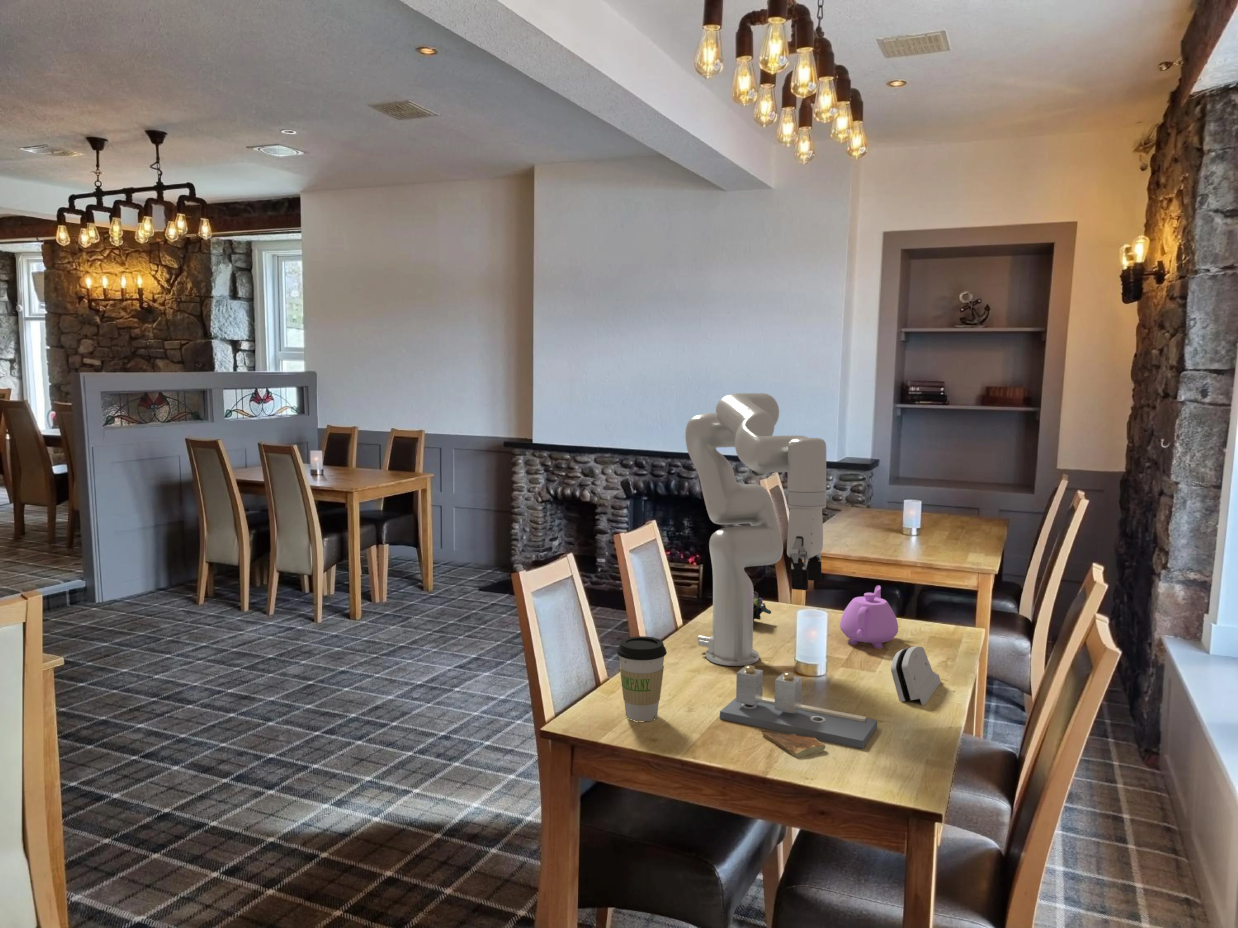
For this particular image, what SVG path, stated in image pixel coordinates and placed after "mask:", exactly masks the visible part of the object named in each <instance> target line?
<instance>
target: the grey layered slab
mask: <svg viewBox="0 0 1238 928" xmlns="http://www.w3.org/2000/svg"><path fill="white" fill-rule="evenodd" d="M890 672H891V676H892V679H893V682H894V686H895V689H896V693H897V697H898V701H900V702H901V703H902V702H906V700H907V699H909V700H910V701H914V700H920V704H921V706H925V705H926V704H927V702H928V701H929V700H930V698H931V697H932V695H933V694H934V693H935V691H936V690H937V688H938V687H939V685H940V684H941V683H942V680H941V678H940V675H939V673H937V672H935V671H934V670H933V669H932V666H931V664H930V661H929V659H928V655H927V653H926V650H925V648H924V647H923V646H910V647H905V648H902V649H900V650H898V651H897V652H896V653H895V655H894V656H893V659H892V662H891V667H890Z"/></svg>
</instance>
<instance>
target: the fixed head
mask: <svg viewBox="0 0 1238 928" xmlns="http://www.w3.org/2000/svg"><path fill="white" fill-rule="evenodd" d="M763 675H764V670H763V669H758V668H756V667H755V665H753V664H750V665H744V667H743V666H742V668H741V669H740V670H738V671H737V672H736V689H735V690H736V691H735V693H736V694H735V695H736V696H735V698H736V702H738V703H743V704H748V705H754V706H756V705H757V704H758V703H759V702H760V701H761V700H762V697H763V690H764V689H763V685H764V684H763V683H764V681H763V680H764V678H763V677H764V676H763Z"/></svg>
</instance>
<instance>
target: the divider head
mask: <svg viewBox="0 0 1238 928" xmlns="http://www.w3.org/2000/svg"><path fill="white" fill-rule="evenodd" d="M802 679H803V677H802V676H797V675H794V672H792V671H784V672H783V673H781V674H780V675H779V676H778V677H777V678H775V679H774V699H775V710H779V711H784V712H789V713H794V714H795V713H796V711H797V710H798V709H799V708H800V707H801V704H802V685H803V683H802Z"/></svg>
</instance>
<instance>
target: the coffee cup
mask: <svg viewBox="0 0 1238 928" xmlns="http://www.w3.org/2000/svg"><path fill="white" fill-rule="evenodd" d="M619 643H620V644H619V645H618V647H617V649H616V654H617V655H618V656H619V657H618V658H619V671H620V680H621V682H620V683H621V687H622V688H621V689H622V695H623V696H622V697H623V702H624V709H625V710H624V711H625V717H626V716H627V718H629V719H632V720H635V721H650V722H653V721H655V720H656V719H657V718H658V713H659V712H658V711H659V703H660V700H661V693H662V685H663V677H664V670H665V669H664V668H665V666H664V662H665V661H664V660H665V657H666V655H667V648H666V647H665V644H664V642H663V640H662V639H661V638H660V639H659V638H657V637H654V636H653V637H652V636H642V635H641V636H630V637H626V638H624V639H622V640H621V641H620V642H619ZM627 718H626V719H627ZM629 719H628V720H629ZM654 719H655V720H654ZM652 720H653V721H652Z"/></svg>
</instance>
